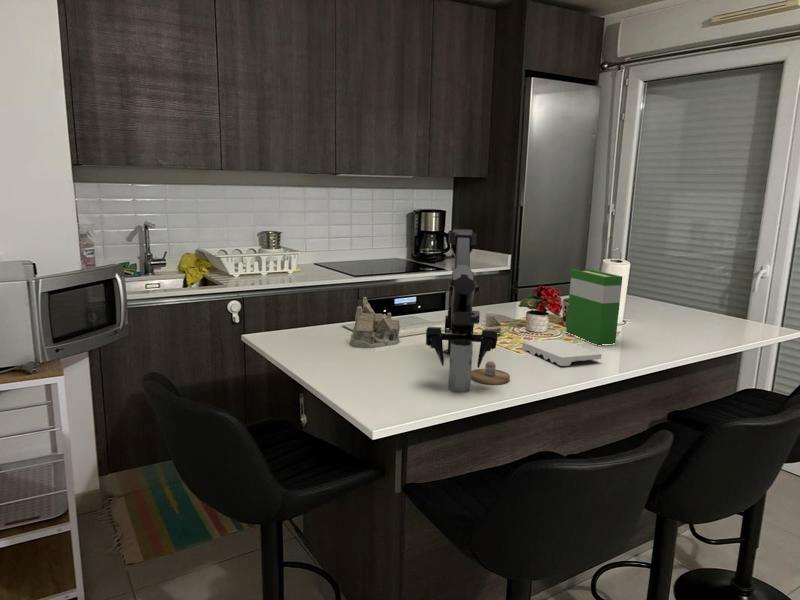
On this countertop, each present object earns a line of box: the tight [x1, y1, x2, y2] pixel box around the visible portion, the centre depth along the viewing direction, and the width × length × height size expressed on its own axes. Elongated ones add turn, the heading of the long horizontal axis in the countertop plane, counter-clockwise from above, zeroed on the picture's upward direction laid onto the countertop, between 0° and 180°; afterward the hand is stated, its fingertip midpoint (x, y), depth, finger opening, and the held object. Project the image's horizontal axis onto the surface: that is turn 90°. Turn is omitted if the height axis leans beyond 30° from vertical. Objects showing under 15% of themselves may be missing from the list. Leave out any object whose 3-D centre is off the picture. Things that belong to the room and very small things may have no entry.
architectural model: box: [482, 314, 504, 335], centre depth 211 cm, size 3×7×7 cm, turn 122°
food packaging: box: [521, 339, 602, 367], centre depth 188 cm, size 15×3×20 cm
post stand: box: [471, 360, 511, 386], centre depth 164 cm, size 11×11×5 cm
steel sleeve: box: [447, 340, 474, 393], centre depth 154 cm, size 6×6×12 cm
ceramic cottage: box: [348, 296, 401, 349], centre depth 196 cm, size 16×16×15 cm
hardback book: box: [565, 268, 623, 345], centre depth 209 cm, size 18×7×24 cm, turn 21°
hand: (460, 366), depth 153 cm, fingers open, 9 cm apart
